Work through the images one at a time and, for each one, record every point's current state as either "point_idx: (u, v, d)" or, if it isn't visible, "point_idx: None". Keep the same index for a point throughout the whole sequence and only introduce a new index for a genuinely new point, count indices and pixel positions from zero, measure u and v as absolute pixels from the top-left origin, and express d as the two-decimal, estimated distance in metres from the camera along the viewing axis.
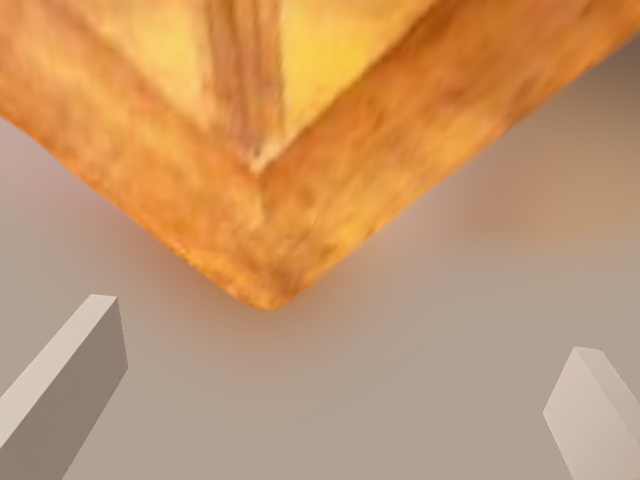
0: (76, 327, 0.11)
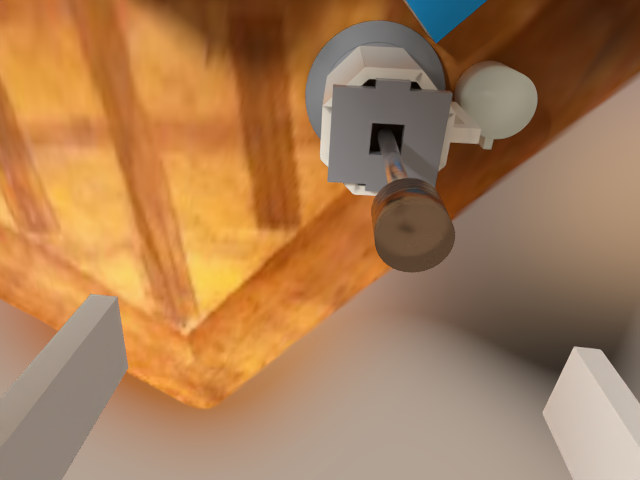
0: (76, 326, 0.11)
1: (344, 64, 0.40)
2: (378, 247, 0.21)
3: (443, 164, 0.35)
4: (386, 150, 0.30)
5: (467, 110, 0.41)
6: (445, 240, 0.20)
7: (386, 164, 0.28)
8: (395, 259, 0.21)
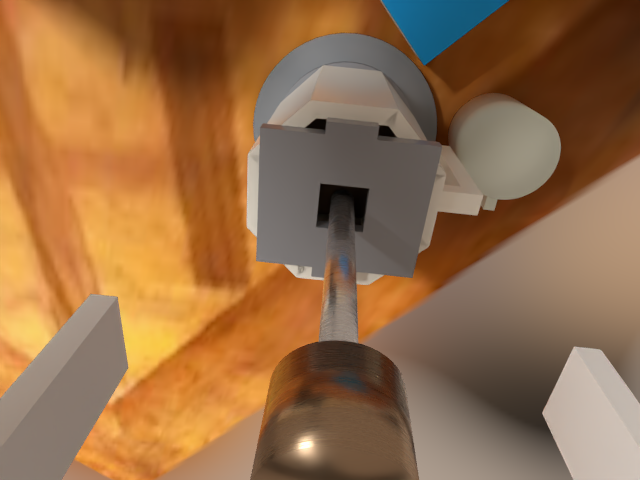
0: (76, 326, 0.11)
1: (299, 89, 0.29)
2: None
3: (426, 244, 0.24)
4: (333, 234, 0.19)
5: (464, 160, 0.30)
6: None
7: (326, 265, 0.17)
8: None
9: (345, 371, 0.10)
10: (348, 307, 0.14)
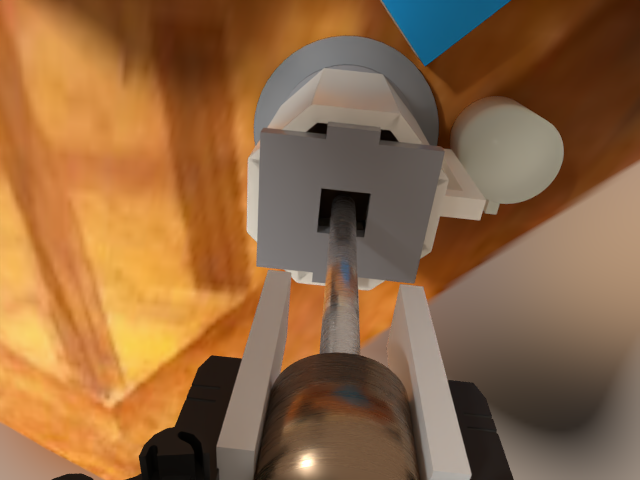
0: (271, 295, 0.13)
1: (300, 93, 0.29)
2: None
3: (428, 249, 0.24)
4: (335, 240, 0.18)
5: (466, 163, 0.30)
6: None
7: (328, 272, 0.17)
8: None
9: (347, 385, 0.10)
10: (350, 316, 0.14)
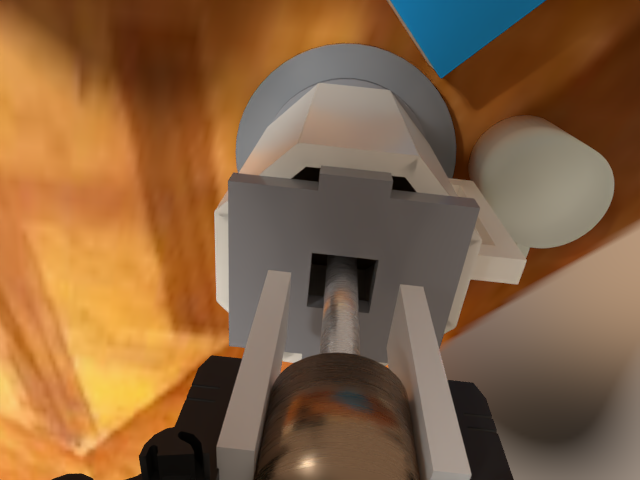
0: (272, 295, 0.13)
1: (288, 114, 0.24)
2: None
3: (451, 323, 0.18)
4: None
5: (493, 200, 0.24)
6: None
7: (327, 272, 0.17)
8: None
9: (347, 385, 0.10)
10: (349, 316, 0.14)
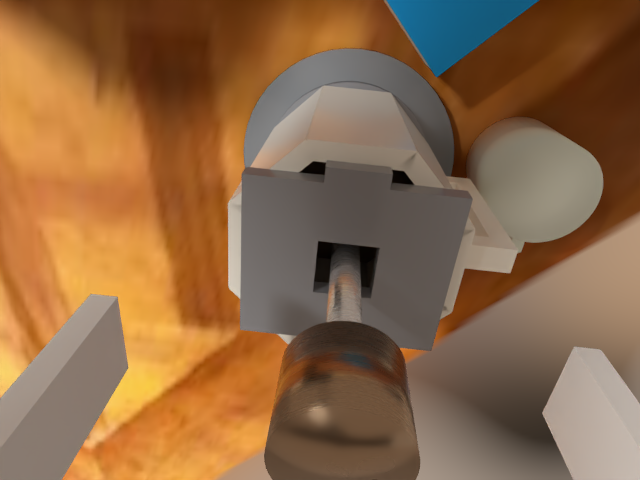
0: (76, 326, 0.11)
1: (295, 115, 0.25)
2: (272, 470, 0.11)
3: (447, 309, 0.20)
4: None
5: (488, 197, 0.26)
6: (401, 468, 0.10)
7: (332, 258, 0.18)
8: None
9: (351, 346, 0.11)
10: (353, 295, 0.16)
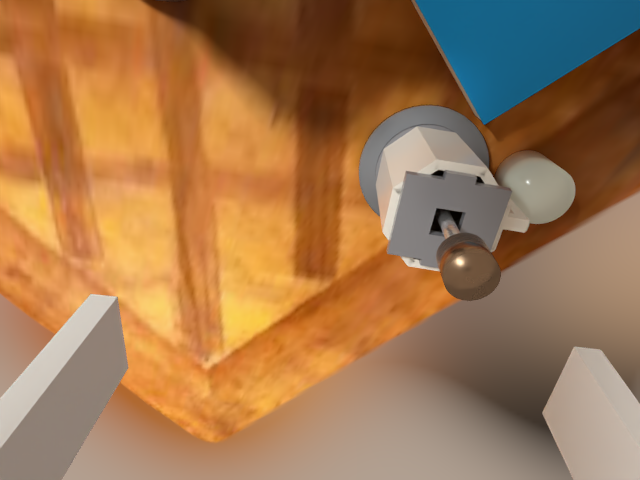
0: (76, 327, 0.11)
1: (404, 143, 0.44)
2: (445, 280, 0.29)
3: (493, 248, 0.39)
4: None
5: (510, 196, 0.45)
6: (493, 279, 0.29)
7: (440, 217, 0.37)
8: (456, 290, 0.30)
9: (473, 239, 0.30)
10: (458, 231, 0.34)
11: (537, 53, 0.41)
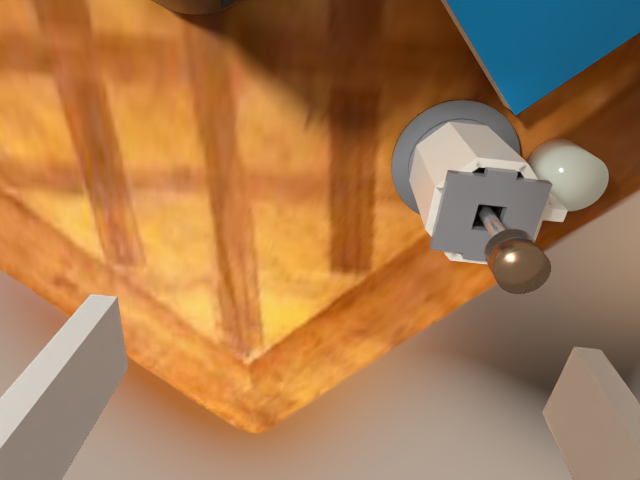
0: (76, 326, 0.11)
1: (438, 140, 0.45)
2: (497, 276, 0.31)
3: None
4: None
5: None
6: (543, 273, 0.31)
7: (481, 213, 0.38)
8: (507, 284, 0.31)
9: (521, 235, 0.32)
10: (502, 226, 0.36)
11: (567, 42, 0.41)
